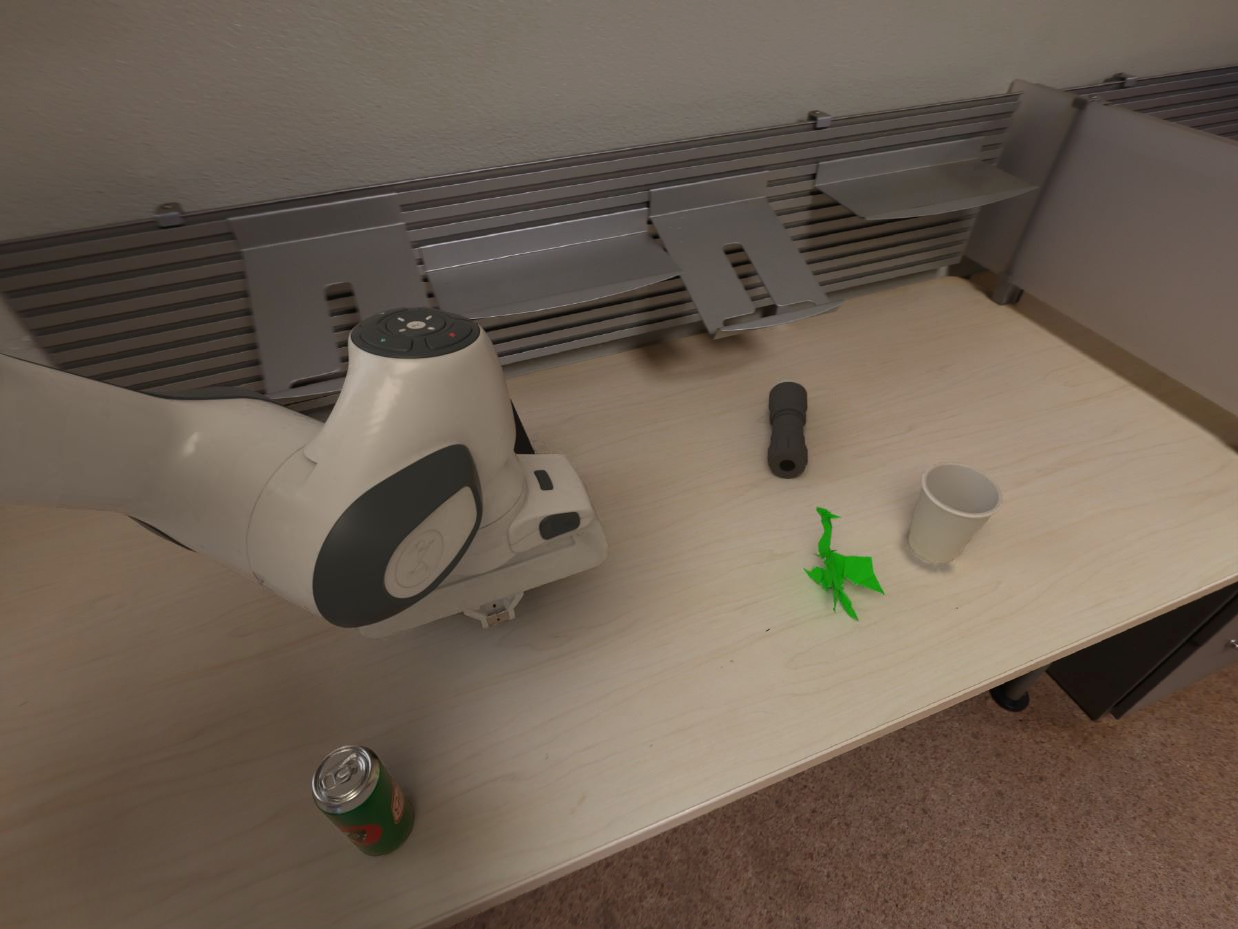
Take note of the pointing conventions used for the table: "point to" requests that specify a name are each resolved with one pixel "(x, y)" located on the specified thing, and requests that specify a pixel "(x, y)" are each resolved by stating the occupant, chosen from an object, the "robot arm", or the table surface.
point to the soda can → (362, 799)
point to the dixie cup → (951, 510)
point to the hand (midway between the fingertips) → (497, 617)
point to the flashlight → (787, 429)
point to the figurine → (841, 567)
